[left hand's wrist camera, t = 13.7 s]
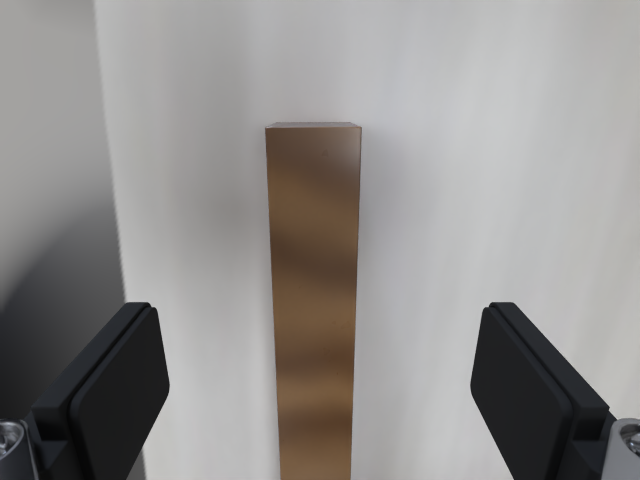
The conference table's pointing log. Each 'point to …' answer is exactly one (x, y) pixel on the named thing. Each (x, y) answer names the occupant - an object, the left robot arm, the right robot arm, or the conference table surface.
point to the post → (314, 291)
